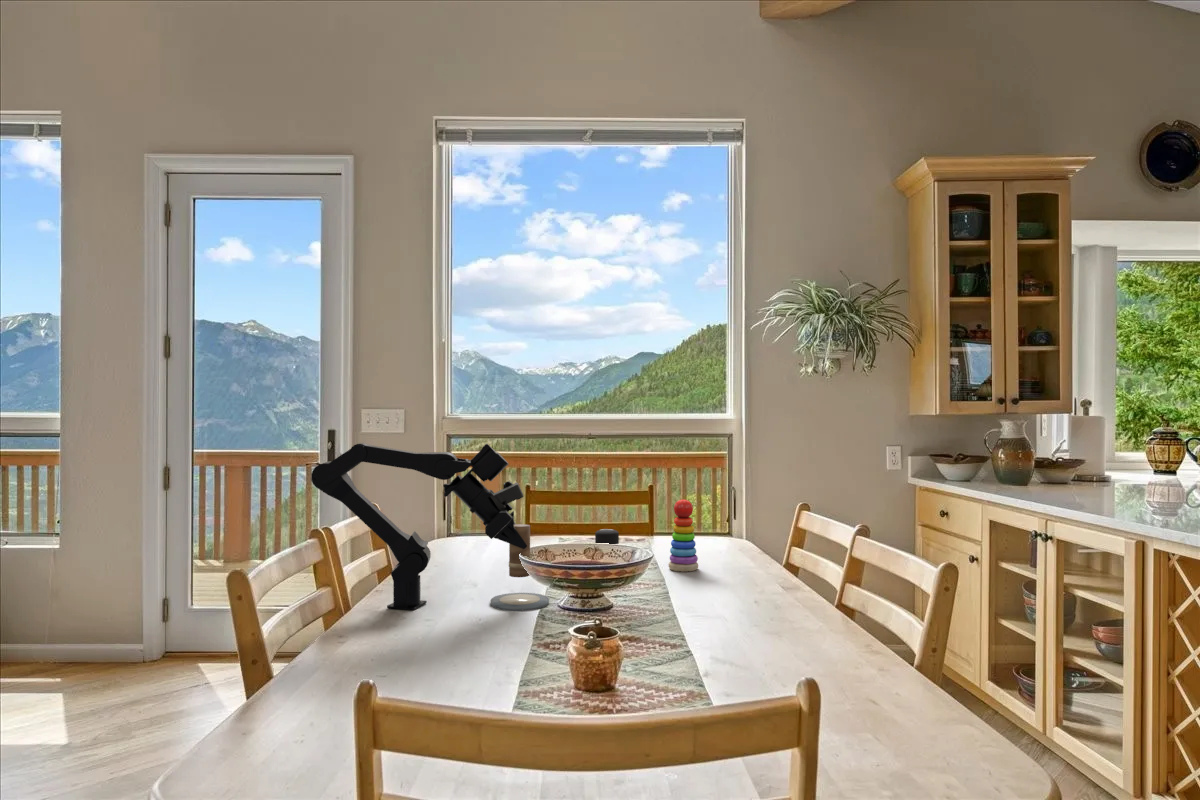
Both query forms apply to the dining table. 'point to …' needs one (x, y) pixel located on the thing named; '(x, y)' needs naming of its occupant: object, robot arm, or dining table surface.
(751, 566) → the dining table surface
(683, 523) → the stacking toy
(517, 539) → the robot arm
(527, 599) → the hub plate
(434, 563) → the dining table surface
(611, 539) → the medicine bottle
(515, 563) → the brown cylinder
